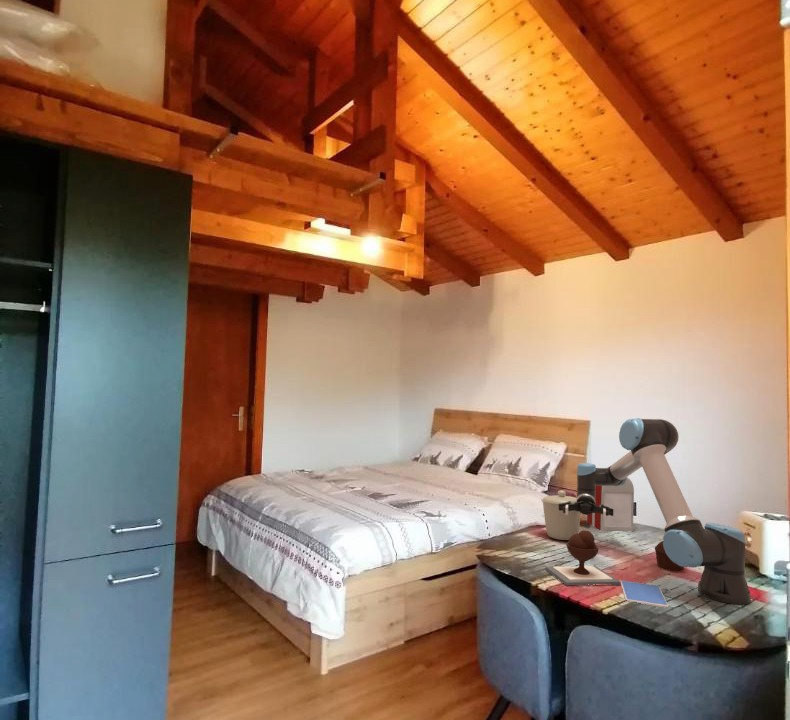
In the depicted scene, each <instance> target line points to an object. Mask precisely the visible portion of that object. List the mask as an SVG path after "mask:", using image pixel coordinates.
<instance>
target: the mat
mask: <svg viewBox="0 0 790 720" xmlns="http://www.w3.org/2000/svg"><path fill="white" fill-rule="evenodd" d="M592 566H593V567H595V568H597V569H598V570H600V571H601V572H603V573H605V574H606V575H608V576H609V577H611V578H612V579H613V580H593V581H570V580H568V579H567V578H566V577H564V576H563V575H561V574H560V573H559V572H557V571H556V570H555V569H553V567H554V566H545V571H546V570H547V571H546V572H547V573H549V572H550V573H551V576H553V577H554V576H555V577H556V578H555V577H554V578H555V579H557V580H558V579H559V580H560V581H559V580H558V581H559V582H561V583H562V582H563V583H564V584H563V583H562V584H563V585H565V584H566V585H588V584H589V585H593V584H595V585H596V584H611V585H610V586H621V583H620V581H621V580H619V579H617V578H615V577H614V576H613V575H610V574H609V573H607V572H606V571H604V570H602V569H601V568H600V567H598V566H596V565H592ZM566 567H568V565H567V566H566ZM550 573H549V574H550ZM566 585H565V586H566Z"/></svg>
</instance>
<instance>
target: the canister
mask: <svg viewBox="0 0 790 720" xmlns="http://www.w3.org/2000/svg"><path fill="white" fill-rule="evenodd" d="M568 501H571V502H572V504H575V502H576V501H577V497H574V496H570V495H569V496H568V495H567V493H566V490H560V489H559V490H558V491H557V495H556V494H555V495H547V496H544V497H543V498H541V502H542V505H543V515H544V517H543V518H544V523H545V529H546V534H547V536H548V537H549V538H550V539H551V538H552V539H555V540H559V541H561V540H562V541H569V539H570V537H571V536H572V535H574V534H577V533H578V534H579V533H580V532H579V530H580V523H581V514H582V513H580V512H579V511H575V510H574V511H568V515H565V513H563V510H561V511H559V504H560V503H565V502H568Z"/></svg>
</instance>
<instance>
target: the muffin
mask: <svg viewBox="0 0 790 720" xmlns="http://www.w3.org/2000/svg"><path fill="white" fill-rule="evenodd" d="M663 542H664V540H662V541H660V542H658V543H657V544H656V545H655V547H654V551H655V557H656V565H657V566H658V568H659V567H660V569H662V568H663V570H666V571H669V572H682V571H684V568H685V567H682V566H679V565H677V564H675V563H674V562H673V561H672V560H671V559H670V558H669V557H668V556H667V554H666V552H665V550H664V547H663Z"/></svg>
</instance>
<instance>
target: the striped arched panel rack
mask: <svg viewBox="0 0 790 720" xmlns="http://www.w3.org/2000/svg"><path fill="white" fill-rule="evenodd" d="M634 496H635V488H634V484H633V481H632V480H631V479H630V478H629V476H628V477H627V479H626V481H625V484H623V485H618V486H596V490H595V500H596V501H595V504H596V505H597V506H600V505H601V504H603V505H604V506H607V507H609V508H612V509H614V510H613V511H614V512H613V516H611V515H609V516H606V519H604V518H603V514H600V513H591V514H589V515H586V523H588V525H591V526H592V527H593V528H595V529H597V530H598V529H599V531H600V530H601V532H612V531H633V532H634V503H635V498H634Z"/></svg>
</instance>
